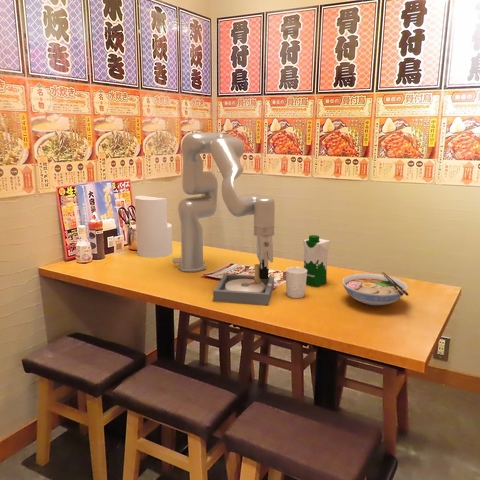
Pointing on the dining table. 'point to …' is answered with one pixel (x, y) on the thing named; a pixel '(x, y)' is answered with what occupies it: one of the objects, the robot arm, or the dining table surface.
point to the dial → (247, 283)
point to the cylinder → (152, 227)
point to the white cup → (296, 281)
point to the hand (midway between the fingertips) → (263, 278)
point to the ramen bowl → (374, 288)
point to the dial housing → (242, 296)
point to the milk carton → (316, 260)
